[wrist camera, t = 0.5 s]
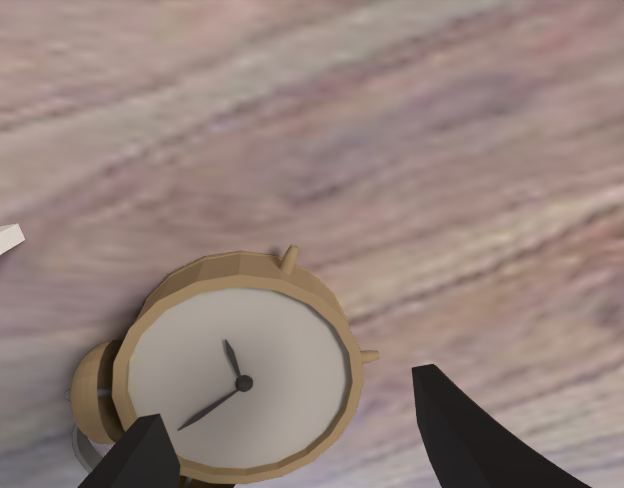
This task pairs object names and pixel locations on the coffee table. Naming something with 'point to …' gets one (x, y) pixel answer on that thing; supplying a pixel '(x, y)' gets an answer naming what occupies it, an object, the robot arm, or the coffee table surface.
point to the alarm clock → (227, 371)
